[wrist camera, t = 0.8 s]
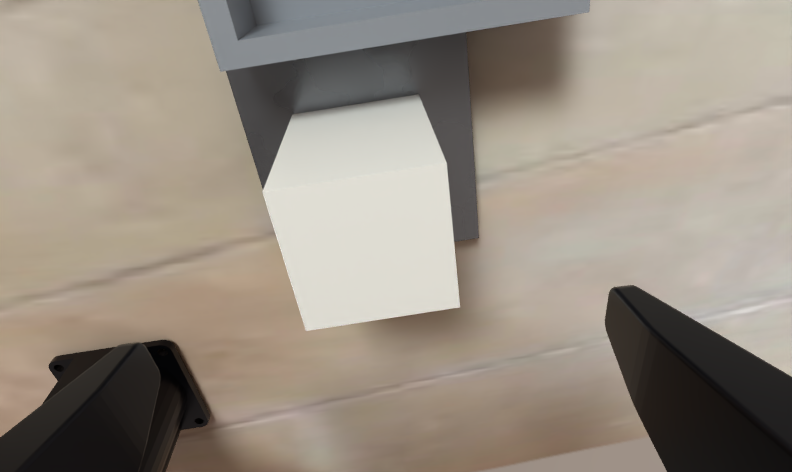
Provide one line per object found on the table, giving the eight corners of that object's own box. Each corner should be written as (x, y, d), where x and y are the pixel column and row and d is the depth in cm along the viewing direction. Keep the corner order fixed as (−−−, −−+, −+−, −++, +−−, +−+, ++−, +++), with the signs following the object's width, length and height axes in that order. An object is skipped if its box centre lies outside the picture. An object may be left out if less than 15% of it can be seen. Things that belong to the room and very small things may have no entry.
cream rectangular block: (431, 206, 22) (460, 307, 16) (320, 224, 22) (306, 330, 16) (418, 94, 19) (446, 162, 13) (292, 114, 19) (262, 192, 13)
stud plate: (474, 227, 23) (499, 288, 19) (290, 255, 24) (275, 323, 19) (461, 27, 19) (491, 51, 15) (231, 64, 19) (196, 99, 15)
